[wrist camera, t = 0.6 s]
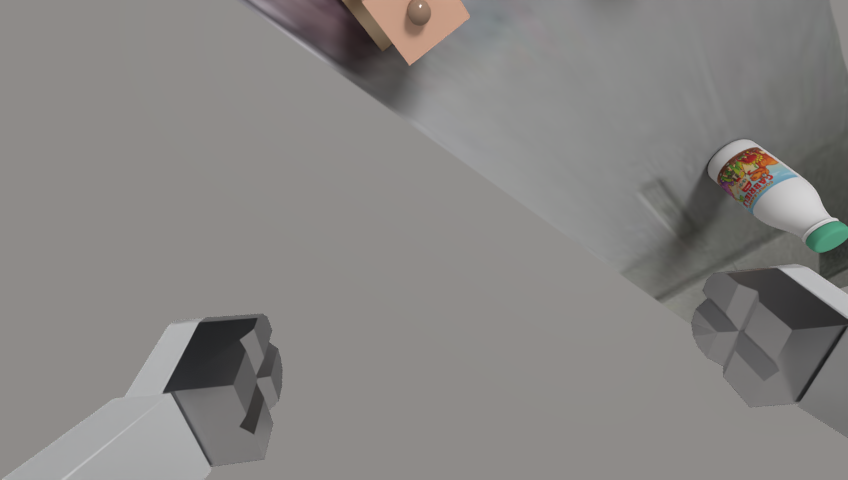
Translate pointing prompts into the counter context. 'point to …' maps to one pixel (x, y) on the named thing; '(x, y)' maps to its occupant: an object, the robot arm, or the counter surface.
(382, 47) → the cork mat
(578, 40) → the counter surface
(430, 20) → the tan drink carton
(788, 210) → the milk bottle
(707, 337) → the robot arm
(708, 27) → the counter surface
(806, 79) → the counter surface
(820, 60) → the counter surface
